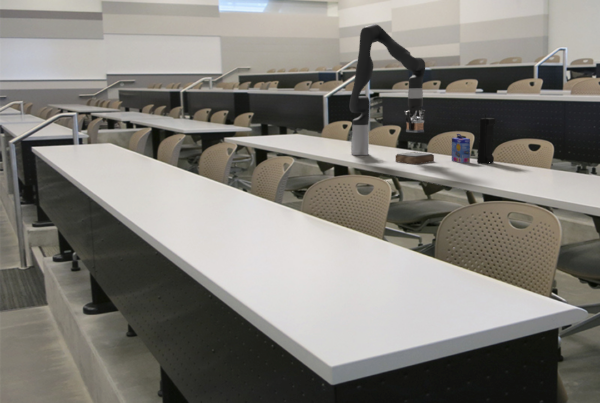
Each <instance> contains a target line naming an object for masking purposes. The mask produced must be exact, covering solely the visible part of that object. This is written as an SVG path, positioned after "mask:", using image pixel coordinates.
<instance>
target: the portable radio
mask: <svg viewBox="0 0 600 403" xmlns="http://www.w3.org/2000/svg"><path fill="white" fill-rule="evenodd" d="M495 124H496V118H494V117H487V113H485V116H484V117H481V118H479V129H478V130H479V131H478V136H479V138H478V139H479V140H478V147H477V157H476V158H477V159H476V162H477V164H480V163H489V162H493V163H494V162H495V161H494V158H495V157H494V156H493V151H494V150H493V148H494V145H493V144H494V125H495Z"/></svg>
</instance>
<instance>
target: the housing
mask: <svg viewBox="0 0 600 403" xmlns="http://www.w3.org/2000/svg"><path fill="white" fill-rule="evenodd" d="M405 123H406V129H405V132H406V133H415V134H416V133H425V130H424V123H425V119H424V120H416V119H414V121H413V131H409V123H407V122H406V121H405Z"/></svg>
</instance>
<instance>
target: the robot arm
mask: <svg viewBox="0 0 600 403" xmlns="http://www.w3.org/2000/svg"><path fill="white" fill-rule="evenodd" d="M377 42H378V43H380V44H382V45H383V46H384V47H385V48H386V50H387V51H388V54H389V55H390V56H391V57H392V58H394V59H395V60H396V61H398V62H399V63H400V64H401V65H402V66H403V67H404V68H405V69H406V70H407V71H409V72H412V75H411V76H410V77H409V79H408V89H407V90H408V92H407V107H408V110H404V111H403V112H404V118H405V123H406V122H407V123H409V131H413V121H414V120H424V121H425V118H426V114H427V113H426V112H427V110H426V109H423V108H422V107H423V106H424V105H423V104H424V99H423V98H424V91H423V90H424V89H423V84H424V83H423V80H424V76H425V72H426V62H425V60H424V59H423V58H422V57H414V56H412V55H411V51H409V50H408V49H406V48H405V47H404V46H402V45H401V44H399V42H397V41H396V40H395V39H393V38H392V36H390V35H389V34H388V32H387V31H385V30H384V28H382V27H381V26H380V25H379V24H376V23H375V24H369V25H367V26H364V27H362V29H361V31H360V34H359V46H358V48H359V49H358V56H357V63H356V69H355V73H354V74H355V75H354V82H353V86H352V91H351V95H350V99H349V111H350V112H351V113H354V114H358V113H361V114H360V115H359V116H358V117H355V118H354V119H352V127H351V128H352V132H351V133H352V137H351V138H350V139H351V142H350V143H351V145H350V147H351V148H350V149H351V152H350V153H351V155H352V156H353V155H354V156H367V155H369V148H370V147H369V146H370V145H369V142H370V141H369V132H370V131H369V122H370V98H369V97H368V96H366V95H360V94H361V92H362V91H363V89H364V88H365V87H366V86H367V85H368V83H369V82H370V81H371V79H372V77H373V73H374V62H373V60H372V56H371V50H372V45H373V44H374V43H377ZM407 123H406V124H407Z"/></svg>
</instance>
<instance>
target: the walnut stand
mask: <svg viewBox="0 0 600 403" xmlns="http://www.w3.org/2000/svg"><path fill="white" fill-rule="evenodd" d="M395 162H396V163H405V164H412V165H420V164H425V163H426V162H427V163H433V162H435V155H434V154H433V153H427V152H418V151H417V152H416V151H412V152H401V153H397V154H396V155H395Z"/></svg>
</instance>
